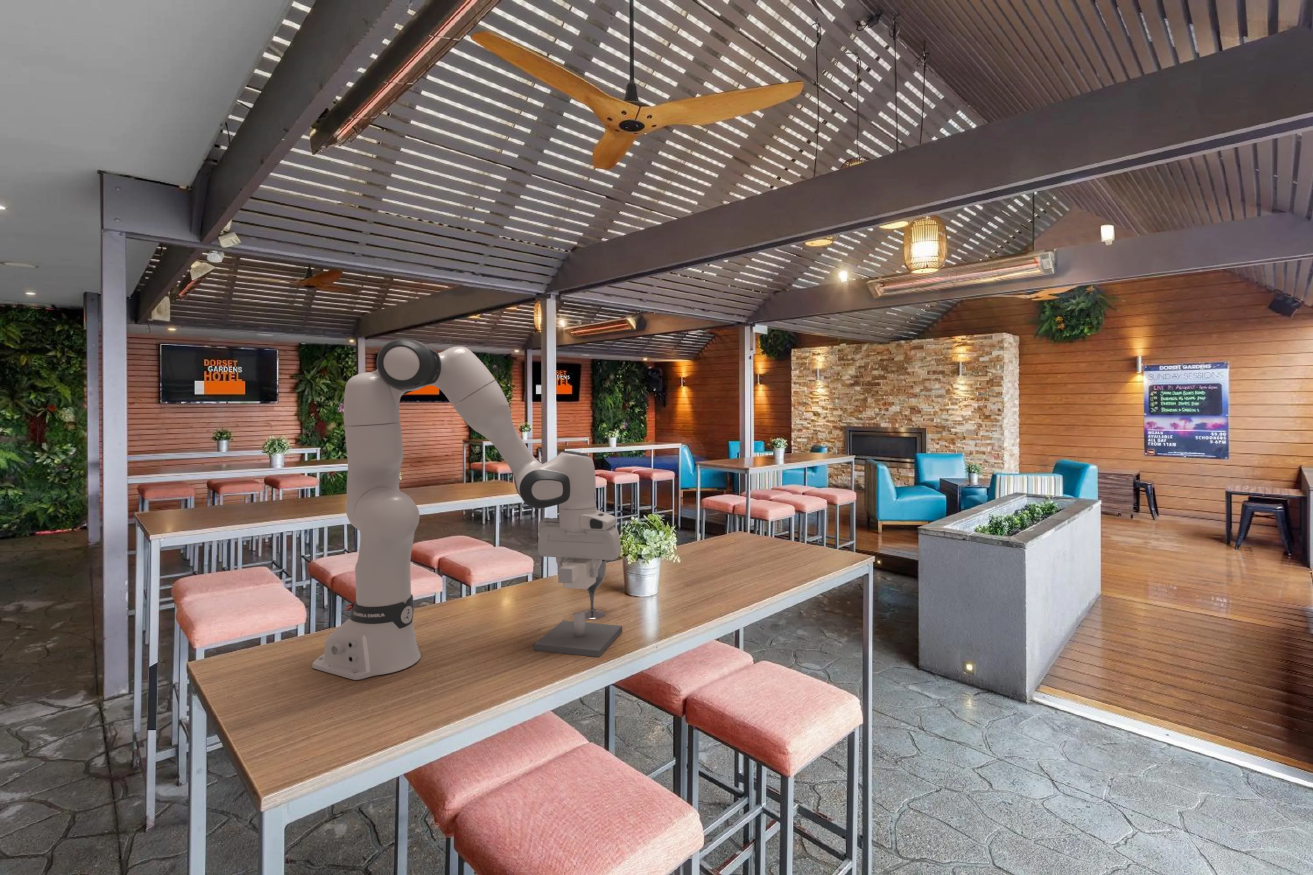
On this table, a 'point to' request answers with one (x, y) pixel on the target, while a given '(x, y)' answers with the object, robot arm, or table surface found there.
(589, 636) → the base
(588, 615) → the wine glass
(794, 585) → the table surface
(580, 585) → the elbow
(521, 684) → the table surface
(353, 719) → the table surface
